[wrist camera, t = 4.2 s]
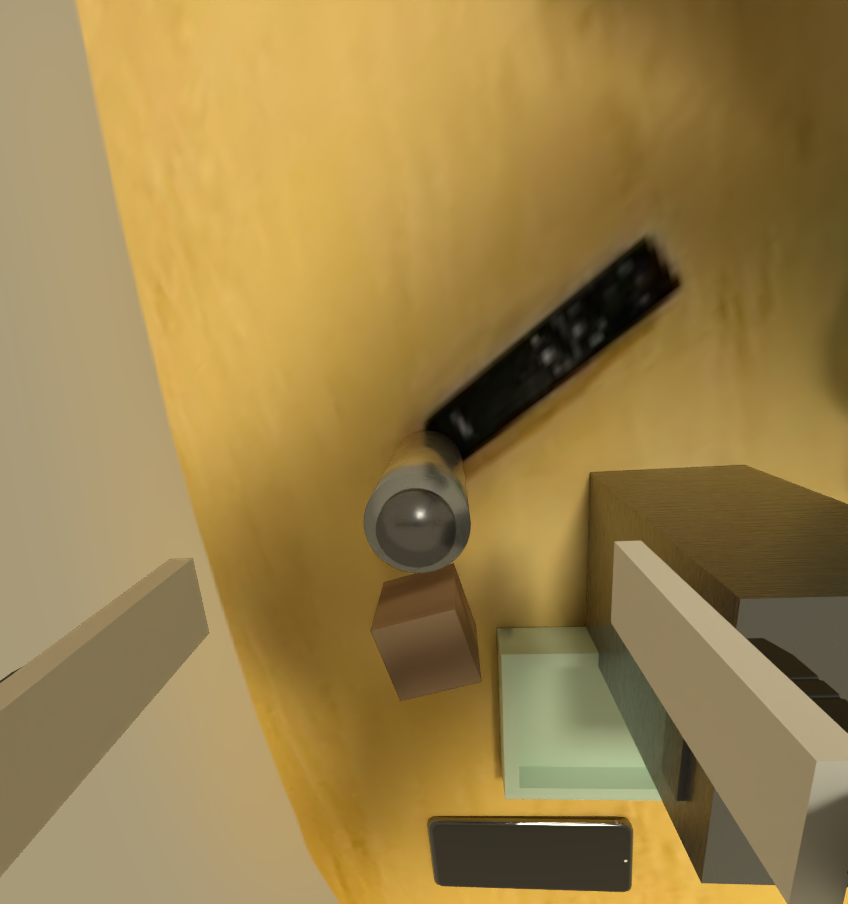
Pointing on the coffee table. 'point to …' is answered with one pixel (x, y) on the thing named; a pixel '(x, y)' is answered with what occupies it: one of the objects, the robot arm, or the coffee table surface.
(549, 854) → the smartphone
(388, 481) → the cartridge
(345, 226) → the coffee table surface
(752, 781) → the robot arm
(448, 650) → the walnut block
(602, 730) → the tray
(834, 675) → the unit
